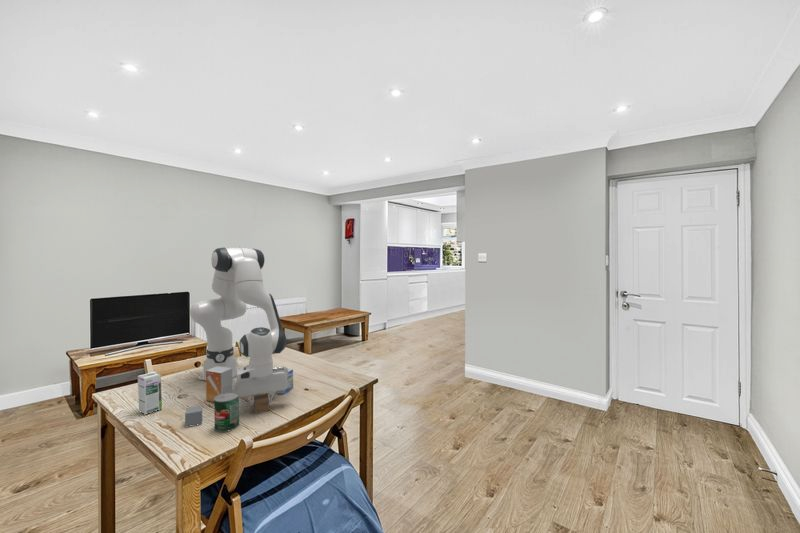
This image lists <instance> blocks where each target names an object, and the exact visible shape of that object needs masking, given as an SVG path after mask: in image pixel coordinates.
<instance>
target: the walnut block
mask: <svg viewBox="0 0 800 533" xmlns="http://www.w3.org/2000/svg"><path fill="white" fill-rule="evenodd" d="M269 397H270V396H269V394H268V393H262V394H256V395H253V400H254V401H255V405H254V406H253V409H254V413H256V414H257V413H262V412H266V411H269V409H270V403H269Z"/></svg>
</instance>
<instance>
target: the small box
mask: <svg viewBox="0 0 800 533" xmlns="http://www.w3.org/2000/svg"><path fill="white" fill-rule="evenodd" d="M205 382H206V383H205V385H206V387H205V394H206V395H205V397H206V398H205V401H206V402H211V403H214V398H215V396H217V395H219V394H222V393H226V392H233V378H232V368H227V367H220V366H217V367H214V368H211V369H209V370H207V371H206V380H205Z"/></svg>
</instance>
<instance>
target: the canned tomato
mask: <svg viewBox="0 0 800 533" xmlns="http://www.w3.org/2000/svg"><path fill="white" fill-rule="evenodd" d="M238 396H239V394H238V393H236V392H226V393H222V394H219V395H217V396H215V398H214V402H213V404H214V405H213V407H214V408H213V409H214V410H213V411H214V412H213V413H214V414H213V415H214V430H215V432H217V431H220V432H219V433H223V432H222V431H227V432H229V431H228V430H231V431H233V430H232V429H234V430H235V429H237V428H238V427H239V426H240V413H239V412H240V409H239V408H240V406H239V404H240V402H239V401H240V400H239V399H240V397H238Z"/></svg>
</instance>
